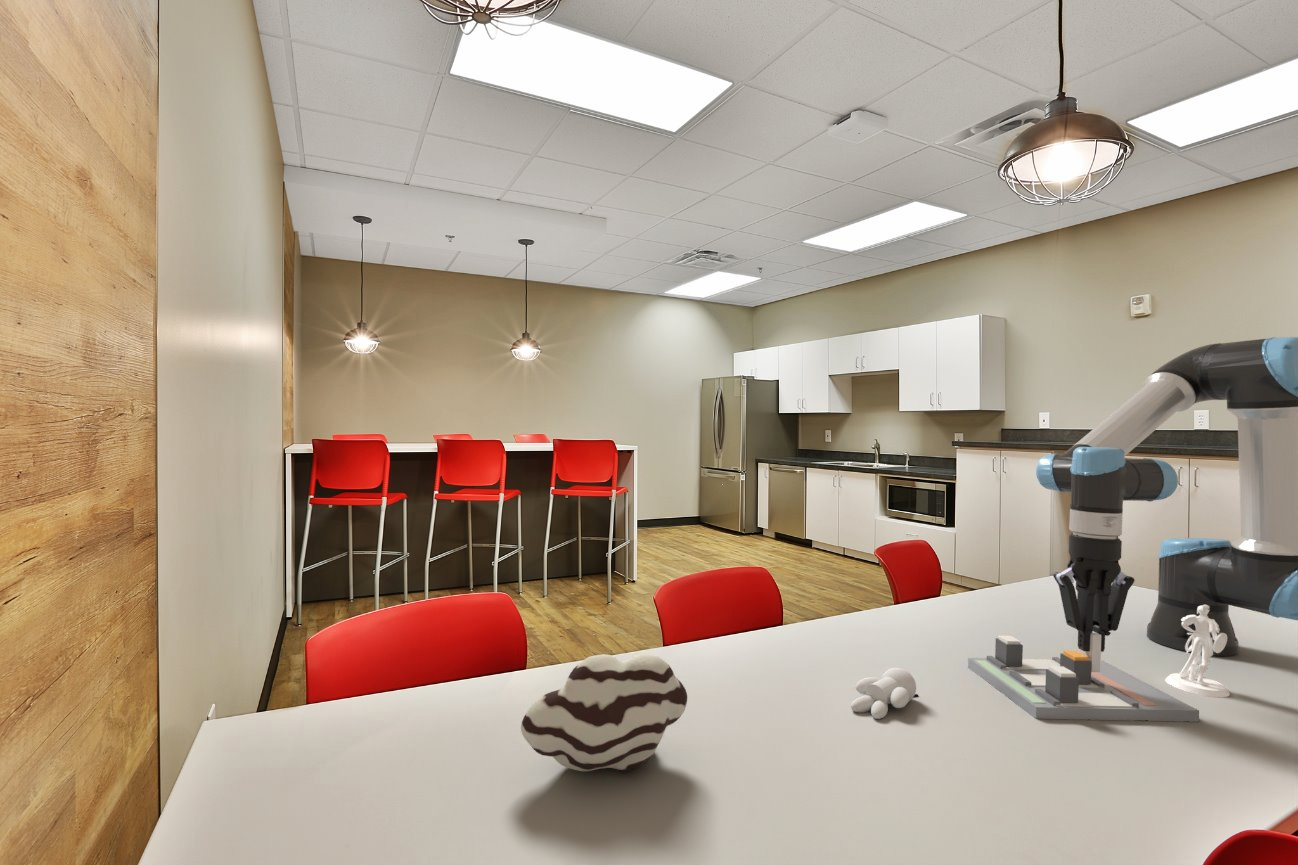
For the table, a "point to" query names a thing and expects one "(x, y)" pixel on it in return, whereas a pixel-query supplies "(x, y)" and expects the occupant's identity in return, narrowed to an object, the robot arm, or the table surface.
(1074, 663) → the breaker mid
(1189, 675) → the figurine
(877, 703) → the toy
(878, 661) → the table surface
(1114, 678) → the panel
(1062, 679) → the block
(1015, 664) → the breaker left
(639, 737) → the sculpture
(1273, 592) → the robot arm
